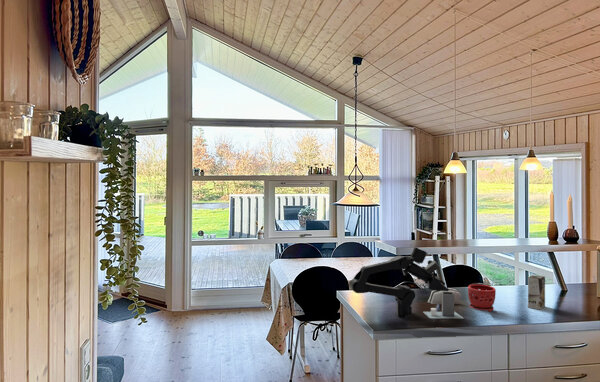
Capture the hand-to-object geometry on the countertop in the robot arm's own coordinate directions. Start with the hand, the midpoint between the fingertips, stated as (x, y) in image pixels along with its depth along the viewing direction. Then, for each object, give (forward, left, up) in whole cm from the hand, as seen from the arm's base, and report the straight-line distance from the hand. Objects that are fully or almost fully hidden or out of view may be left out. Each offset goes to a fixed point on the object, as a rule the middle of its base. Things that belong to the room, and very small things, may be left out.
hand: (446, 287), depth 206 cm
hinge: (+7, +23, -15) cm, 28 cm away
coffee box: (+54, +17, -14) cm, 59 cm away
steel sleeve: (0, -3, -13) cm, 13 cm away
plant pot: (+22, +11, -14) cm, 29 cm away
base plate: (-3, -3, -14) cm, 15 cm away
